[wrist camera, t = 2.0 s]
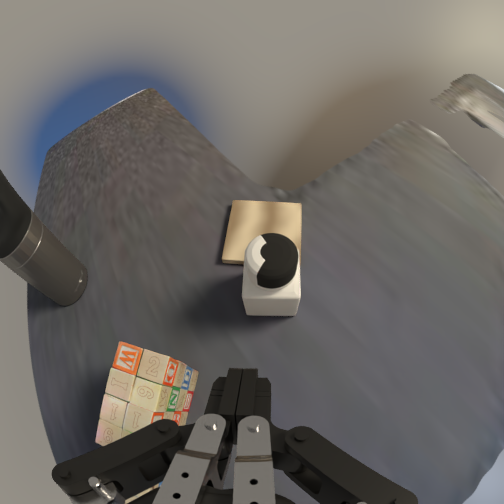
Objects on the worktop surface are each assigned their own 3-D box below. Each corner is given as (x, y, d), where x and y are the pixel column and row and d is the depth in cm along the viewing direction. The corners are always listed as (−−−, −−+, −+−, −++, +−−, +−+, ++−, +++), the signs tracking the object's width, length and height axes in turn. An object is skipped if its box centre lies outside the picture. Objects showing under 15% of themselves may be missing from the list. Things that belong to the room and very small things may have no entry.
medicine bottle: (295, 272, 43) (302, 225, 32) (296, 316, 39) (305, 281, 29) (248, 271, 43) (241, 225, 33) (246, 315, 40) (236, 280, 29)
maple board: (223, 262, 44) (221, 259, 43) (233, 204, 50) (233, 200, 49) (299, 268, 43) (300, 264, 42) (300, 208, 49) (301, 203, 48)
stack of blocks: (169, 500, 25) (133, 528, 15) (130, 484, 26) (84, 502, 16) (199, 370, 36) (170, 355, 25) (159, 359, 37) (118, 339, 26)
